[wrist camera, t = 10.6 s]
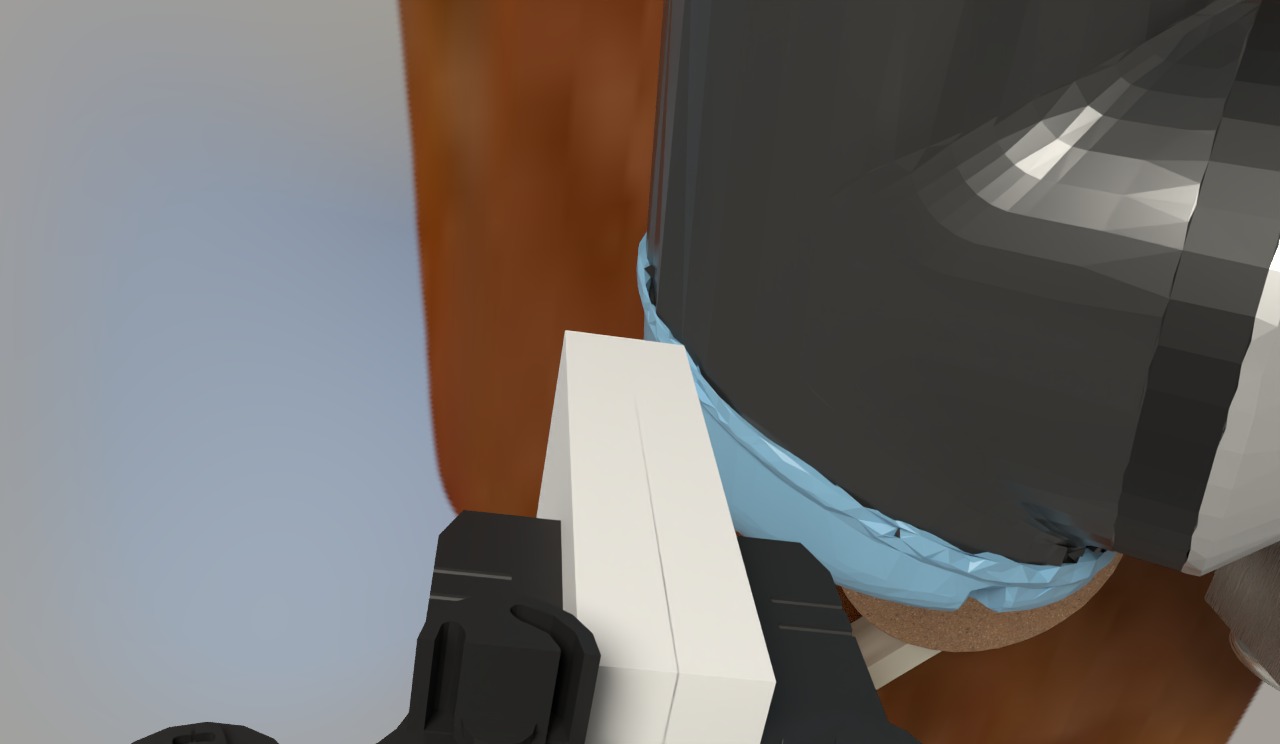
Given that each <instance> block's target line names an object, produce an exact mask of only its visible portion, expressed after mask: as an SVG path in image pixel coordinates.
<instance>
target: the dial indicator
mask: <svg viewBox="0 0 1280 744" xmlns="http://www.w3.org/2000/svg"><path fill="white" fill-rule="evenodd" d="M1204 599H1205V601H1206V602H1207V603H1208V604H1209V605H1210V606H1211V608H1212V609H1213V610H1214V611H1215V612H1216V613H1217V614H1218V616H1219V617H1220V618H1221V619H1222V620H1223V621H1224V623H1225V624H1226V625H1227V626H1228V627H1229V628H1230V630H1231V632H1230V635H1229V643H1230V646H1231V648H1232V650H1233V652H1234V654H1235V655H1236V656H1237V658H1238V659H1239V660H1240V661H1241V662H1242V663H1243V664H1244V665H1245V666H1246V667H1247V668H1248V669H1249V670H1250V671H1251V672H1252V673H1254V674H1255V675H1256V676H1257V677H1259V678H1260V679H1262V680H1263V681H1264V682H1266V683H1267V684H1269V685H1271V686H1272V687H1274V688H1276V689H1277V690H1279V691H1280V541H1278V542H1276V543H1274V544H1271V545H1269V546H1267V547H1265V548H1262V549H1260V550H1258V551H1256V552H1254V553H1251V554H1249V555H1247V556H1245V557H1242V558H1240V559H1238V560H1236V561H1233V562H1231V563H1229V564H1227V565H1224V566H1222V567H1220V568H1218V569H1216V571H1215V574H1214V576H1213V578H1212V581H1211V583H1210V586H1209V588H1208V590H1207V593H1206V595H1205V598H1204Z"/></svg>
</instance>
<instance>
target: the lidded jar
mask: <svg viewBox="0 0 1280 744" xmlns="http://www.w3.org/2000/svg"><path fill="white" fill-rule="evenodd" d="M1122 556H1123V554H1121V553H1118V552H1117V554H1116V556H1115V557H1114V558H1113V560H1112V561H1111V562H1110V563H1109V564H1108V565H1107V566H1105V567H1104V568H1102V569H1101V570H1100V571H1098V572H1097V574H1096V575H1095V576H1094V577H1093V578H1092V580H1091V581H1090V582H1089V583H1087V584H1086V585H1085V586H1083V587H1082V588H1081V589H1079V590H1078V591H1076V592H1075V593H1073V594H1071V595H1070V596H1068V597H1066V598H1064V599H1062V600H1060V601H1058V602H1055V603H1052V604H1049V605H1046V606H1043V607H1040V608H1035V609H1030V610H1022V611H1012V612H1001V613H996V612H995V611H993V610H991V609H989V608H987V607H986V606H985V605H983V604H982V603H980V602H979V601H977V600H976V599H974V598H971V597H968V598H967V600H966V602H965V603H964V604H963V605H962V606H961V607H960V608H959V609H957V610H955V611H954V612H952V611H938V610H931V609H924V608H918V607H913V606H908V605H904V604H899V603H895V602H891V601H886V600H882V599H878V598H875V597H872V596H868V595H865V594H862V593H859V592H856V591H853V590H850V589H847V588H844V587H842V589H843V591H844V593H845V595H846V597H847V598H848V599H849V600H850V602H851V603H852V604H853V606H854V607H855V608H856V610H857V611H858V612H859V613H860V614H861V615H862V616H864V617H865V618H866V619H867V620H868V621H869V622H870V623H871V624H872V625H874V626H875V627H877V628H878V629H880V630H882V631H883V632H885V633H886V634H888V635H890V636H892V637H894V638H896V639H899V640H901V641H903V642H906V643H908V644H911V645H915V646H919V647H923V648H927V649H931V650H940V651H948V652H972V651H983V650H989V649H996V648H1001V647H1005V646H1008V645H1011V644H1015V643H1018V642H1021V641H1024V640H1026V639H1029V638H1031V637H1034V636H1036V635H1038V634H1041V633H1043V632H1045V631H1047V630H1049V629H1050V628H1052V627H1054V626H1055V625H1057V624H1059V623H1060V622H1062V621H1064V620H1065V619H1066V618H1068V617H1069V616H1071V615H1072V614H1073V613H1075V612H1076V611H1077V610H1079V609H1080V608H1081V607H1083V606H1084V605H1085V604H1086V603H1087V602H1088V601H1089V600H1090V599H1091V598H1092V597H1093V596H1094V595H1095V594H1096V593H1097V592H1098V591H1099V590H1100V588H1101V587H1102V586H1103V585H1104V583H1105V582H1106V581H1107V580H1108V578H1109V577H1110V576H1111V575H1112V574H1113V572H1114V571H1115V569H1116V567H1117V565H1118V563H1119V562H1120V560H1121V558H1122Z"/></svg>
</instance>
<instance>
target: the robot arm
mask: <svg viewBox="0 0 1280 744" xmlns="http://www.w3.org/2000/svg"><path fill="white" fill-rule="evenodd" d="M637 280H638V289H639V293H640V297H641V300H642V304H643V307H644V311H645V322H644V340H637V339H630V338H622V337H614V336H606V335H598V334H591V333H583V332H575V331H567V330H565V335H564V342H563V348H562V355H561V361H560V368H559V374H558V381H557V388H556V394H555V401H554V407H553V414H552V420H551V427H550V433H549V440H548V446H547V453H546V460H545V466H544V473H543V479H542V486H541V492H540V499H539V505H538V512H537V518H532V517H523V516H514V515H504V514H495V513H486V512H476V511H467V510H463V511H462V512H461V513H460V514H459V515H458V516H457V517H456V518H455V519H454V520H453V521H452V523H451V524H450V525H449V526H448V527H447V528H446V529H445V530H444V531H443V532H442V533H441V534H440V535H439V538H438V546H437V552H436V558H435V565H434V572H433V578H432V585H431V591H430V599H429V604H428V611H427V617H426V622H425V624H424V627H423V629H422V631H421V632H420V634H419V637H418V639H417V647H416V656H415V664H414V674H413V682H412V691H411V700H410V709H409V713H408V715H407V716H406V717H405V719H404V720H403V721H402V722H401V724H400V725H399V726H398V728H397V729H396V730H394V731H393V732H392V733H390V734H389V735H388V736H386V737H385V738H384V739H382V740H381V741H380V742H378V743H376V744H922V743H921V742H919V741H918V740H917V739H916V738H914V737H913V736H912V735H911V734H909V733H908V732H907V731H905V730H903V729H901V728H899V727H897V726H895V725H893V724H890V723H889V722H888V720H887V717H886V715H885V712H884V709H883V707H882V704H881V702H880V699H879V696H878V694H877V691H876V689H875V686H874V684H873V681H872V678H871V676H870V673H869V671H868V668H867V666H866V663H865V660H864V658H863V655H862V653H861V650H860V647H859V645H858V642H857V640H856V637H855V636H852V631H853V629H852V627H851V624H850V622H849V619H848V617H847V614H846V611H845V610H842V601H841V598H840V596H839V593H838V591H837V588H836V586H835V584H836V585H839V586H841V587H844V588H847V589H850V590H853V591H856V592H859V593H862V594H865V595H868V596H872V597H875V598H878V599H882V600H886V601H891V602H895V603H899V604H904V605H908V606H913V607H918V608H924V609H931V610H938V611H952V612H954V611H955V610H957V609H959V608H960V607H961V606H962V605H963V604H964V603H965V602H966V600H967V598H968V597H971V598H974V599H976V600H977V601H979V602H980V603H982V604H983V605H985V606H986V607H987V608H989V609H991V610H993V611H995V612H996V613H1001V612H1012V611H1022V610H1030V609H1035V608H1040V607H1043V606H1046V605H1049V604H1052V603H1055V602H1058V601H1060V600H1062V599H1064V598H1066V597H1068V596H1070V595H1071V594H1073V593H1075V592H1076V591H1078V590H1079V589H1081V588H1082V587H1083V586H1085V585H1086V584H1087V583H1089V582H1090V581H1091V580H1092V578H1093V577H1094V576H1095V575H1096V574H1097V572H1098V571H1100V570H1101V569H1102V568H1104V567H1105V566H1107V565H1108V564H1109V563H1110V562H1111V561H1112V560H1113V558H1114V557H1115V556H1116V554H1117V552H1118V553H1121V554H1125V555H1128V556H1131V557H1135V558H1138V559H1141V560H1145V561H1148V562H1151V563H1155V564H1158V565H1161V566H1165V567H1168V568H1171V569H1175V570H1178V571H1181V572H1183V573H1186V574H1191V575H1195V576H1202V575H1204V574H1207V573H1209V572H1211V571H1213V570H1216V569H1218V568H1220V567H1222V566H1224V565H1227V564H1229V563H1231V562H1233V561H1236V560H1238V559H1240V558H1242V557H1245V556H1247V555H1249V554H1251V553H1254V552H1256V551H1258V550H1260V549H1262V548H1265V547H1267V546H1269V545H1271V544H1274V543H1276V542H1278V541H1280V0H664V7H663V20H662V34H661V47H660V61H659V74H658V88H657V101H656V115H655V128H654V142H653V155H652V169H651V182H650V196H649V209H648V223H647V232H646V234H645V236H644V237H643V239H642V240H641V242H640V244H639V249H638V261H637ZM734 529H735V530H736V531H737V532H739V533H740V534H741V535H743V536H744V537H743V536H736V533H735V530H734ZM132 744H279V743H277V741H276V740H275V739H273V738H271V737H269V736H266V735H264V734H262V733H259V732H257V731H255V730H252V729H250V728H248V727H245V726H241V725H231V724H222V723H213V722H203V723H196V724H190V725H182V726H175V727H169V728H166V729H164V730H161V731H159V732H157V733H154V734H152V735H149V736H147V737H145V738H142V739H140V740H137V741H135V742H133V743H132Z"/></svg>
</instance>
